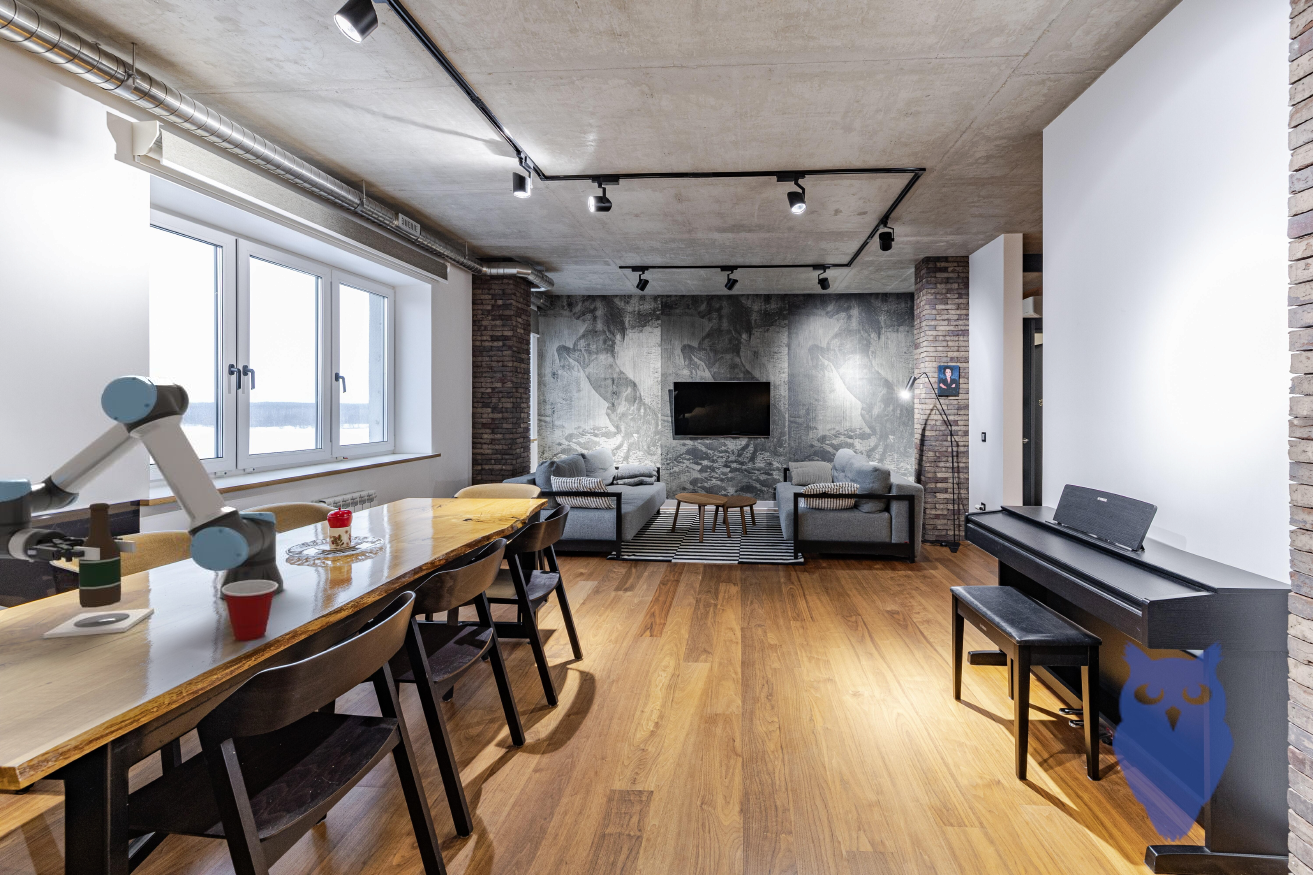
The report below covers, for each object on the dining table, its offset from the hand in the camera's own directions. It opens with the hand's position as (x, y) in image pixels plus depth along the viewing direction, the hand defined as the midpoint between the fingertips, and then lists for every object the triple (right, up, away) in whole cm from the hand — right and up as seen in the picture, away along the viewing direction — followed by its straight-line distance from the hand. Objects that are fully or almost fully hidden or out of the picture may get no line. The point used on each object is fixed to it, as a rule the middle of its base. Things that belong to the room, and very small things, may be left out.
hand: (116, 550), depth 147 cm
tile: (-5, -18, +2) cm, 19 cm away
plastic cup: (+36, -19, -6) cm, 41 cm away
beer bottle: (-5, -13, +1) cm, 14 cm away
